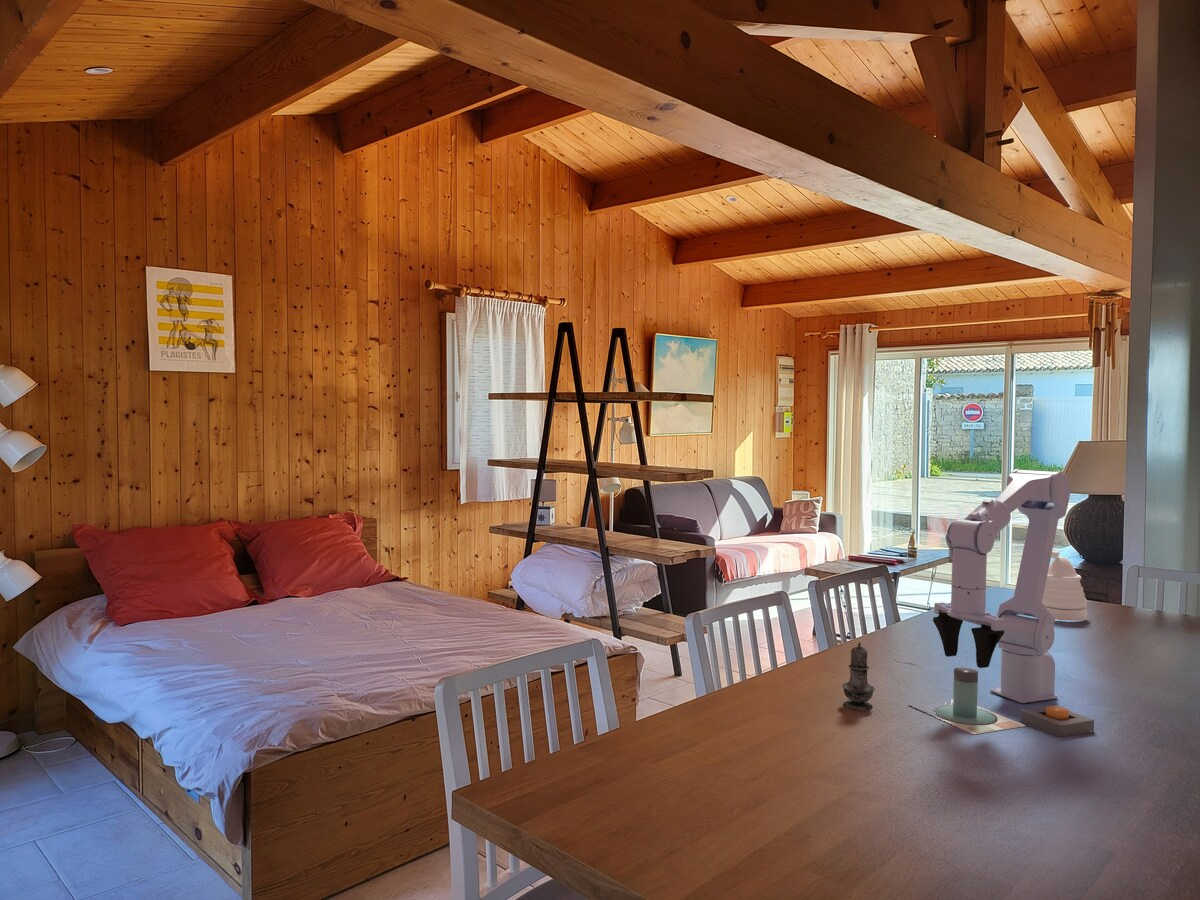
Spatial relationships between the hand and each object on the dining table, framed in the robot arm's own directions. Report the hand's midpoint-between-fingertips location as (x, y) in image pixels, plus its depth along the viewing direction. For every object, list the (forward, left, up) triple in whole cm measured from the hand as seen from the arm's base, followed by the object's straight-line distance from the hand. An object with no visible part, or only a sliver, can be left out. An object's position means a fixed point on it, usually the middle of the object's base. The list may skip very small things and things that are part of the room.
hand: (966, 661), depth 157 cm
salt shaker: (+15, -11, -10) cm, 21 cm away
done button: (-11, +10, -8) cm, 17 cm away
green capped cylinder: (0, 0, -10) cm, 10 cm away
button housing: (-11, +10, -10) cm, 18 cm away
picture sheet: (0, 0, -10) cm, 10 cm away
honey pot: (-86, -53, -10) cm, 102 cm away
